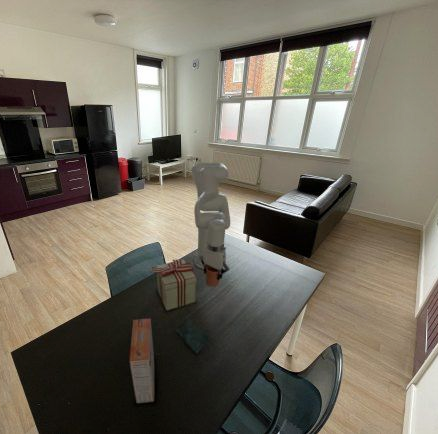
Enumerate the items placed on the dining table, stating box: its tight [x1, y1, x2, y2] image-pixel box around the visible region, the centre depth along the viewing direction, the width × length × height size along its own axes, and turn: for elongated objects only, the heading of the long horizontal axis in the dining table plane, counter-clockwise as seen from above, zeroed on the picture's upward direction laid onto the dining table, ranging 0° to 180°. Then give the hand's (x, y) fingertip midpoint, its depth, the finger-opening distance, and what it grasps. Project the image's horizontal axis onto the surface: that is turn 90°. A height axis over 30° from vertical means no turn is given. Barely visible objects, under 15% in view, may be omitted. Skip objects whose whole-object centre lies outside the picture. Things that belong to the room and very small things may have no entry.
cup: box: [204, 265, 220, 288], centre depth 117 cm, size 7×7×9 cm
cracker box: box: [129, 317, 155, 404], centre depth 75 cm, size 14×6×21 cm, turn 5°
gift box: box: [151, 258, 198, 311], centre depth 112 cm, size 17×18×17 cm
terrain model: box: [174, 319, 212, 354], centre depth 94 cm, size 13×8×2 cm, turn 40°
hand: (212, 275), depth 117 cm, fingers closed on cup, 6 cm apart
